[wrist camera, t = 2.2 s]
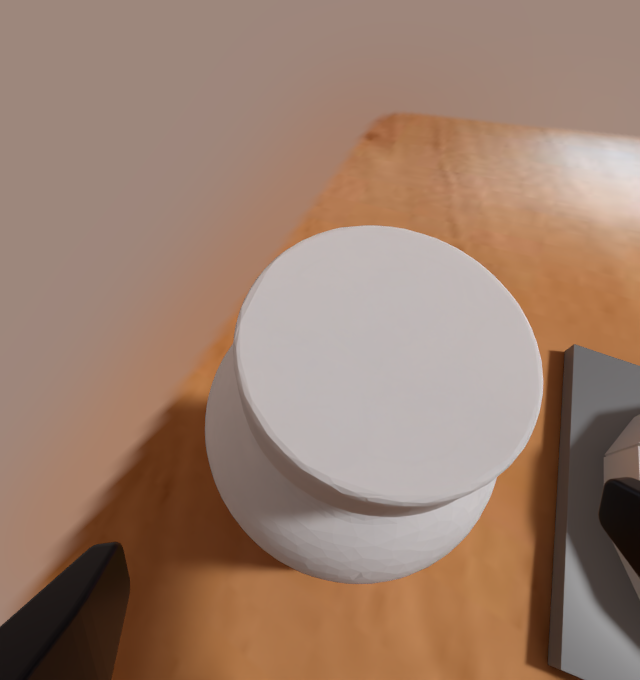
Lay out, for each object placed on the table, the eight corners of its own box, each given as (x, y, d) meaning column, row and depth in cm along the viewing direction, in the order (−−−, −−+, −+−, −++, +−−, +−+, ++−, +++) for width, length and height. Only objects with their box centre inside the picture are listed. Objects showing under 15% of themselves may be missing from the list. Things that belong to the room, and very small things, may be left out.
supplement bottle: (207, 490, 17) (50, 342, 5) (311, 382, 19) (349, 135, 8) (331, 615, 15) (473, 775, 4) (426, 476, 18) (672, 326, 6)
